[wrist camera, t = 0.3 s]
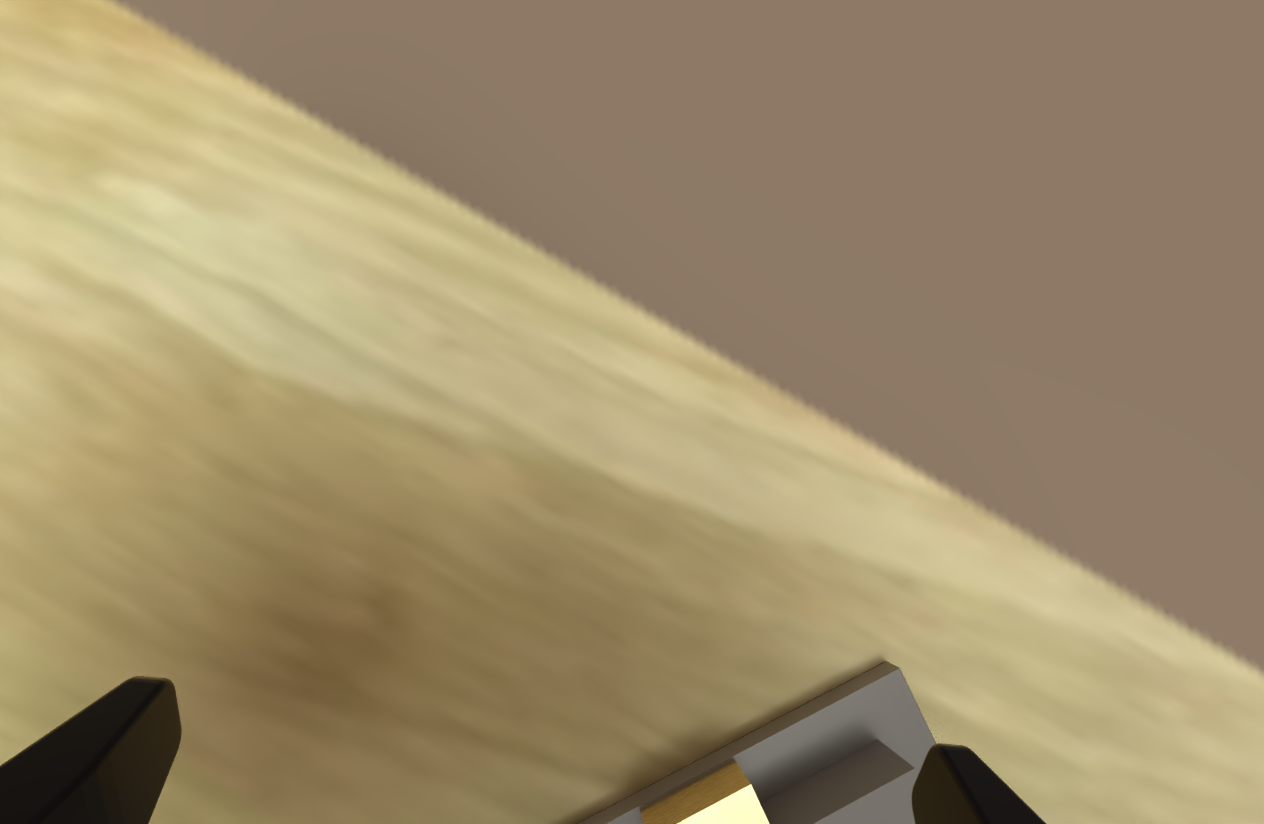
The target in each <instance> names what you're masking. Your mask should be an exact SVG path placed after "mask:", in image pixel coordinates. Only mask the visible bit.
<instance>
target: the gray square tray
mask: <svg viewBox="0 0 1264 824" xmlns="http://www.w3.org/2000/svg"><path fill="white" fill-rule="evenodd" d="M934 744H936V742H935V740H934V738H933V736H932V734H931V732H930V730H929V728H928V726H927V724H926V721H925V719H924V717H923V715H922V713H921V711H920V709H919V707H918V705H917V703H916V701H915V699H914V697H913V694H912V692H911V690H910V688H909V686H908V684H907V682H906V680H905V678H904V676H903V674H902V672H901V670H900V668H899V667H897V666H895V665H893V664H891V663H889V662H887V661H886V662H884V663H882V664H880V665H878V666H876V667H874V668H873V669H871V670H869V671H867V672H865V673H863V674H861V675H859V676H857V677H855V678H854V679H852V680H850V681H848V682H846V683H844V684H842V685H840V686H838V687H836V688H835V689H833V690H831V691H829V692H827V693H825V694H823V695H821V696H819V697H817V698H816V699H814V700H812V701H810V702H808V703H806V704H804V705H802V706H800V707H798V708H797V709H795V710H793V711H791V712H789V713H787V714H785V715H783V716H781V717H779V718H778V719H776V720H774V721H772V722H770V723H768V724H766V725H764V726H762V727H760V728H759V729H757V730H755V731H753V732H751V733H749V734H747V735H745V736H743V737H741V738H740V739H738V740H736V741H734V742H732V743H730V744H728V745H726V746H724V747H722V748H721V749H719V750H717V751H715V752H713V753H711V754H709V755H707V756H705V757H703V758H702V759H700V760H698V761H696V762H694V763H692V764H690V765H688V766H686V767H684V768H683V769H681V770H679V771H677V772H675V773H673V774H671V775H669V776H667V777H665V778H664V779H662V780H660V781H658V782H656V783H654V784H652V785H650V786H648V787H646V788H645V789H643V790H641V791H639V792H637V793H635V794H633V795H631V796H629V797H627V798H626V799H624V800H622V801H620V802H618V803H616V804H614V805H612V806H610V807H608V808H607V809H605V810H603V811H601V812H599V813H597V814H595V815H593V816H591V817H589V818H588V819H586V820H584V821H582V822H580V823H578V824H915V821H914V815H913V810H912V800H911V798H912V789H913V786H914V783H915V781H916V779H917V776H918V774H919V772H920V769H921V767H922V765H923V762H924V760H925V757H926V755H927V753H928V751H929V749H930V747H932V746H933V745H934Z"/></svg>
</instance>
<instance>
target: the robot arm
mask: <svg viewBox="0 0 1264 824" xmlns="http://www.w3.org/2000/svg"><path fill="white" fill-rule="evenodd" d="M180 740H181V722H180V716H179V710H178V703H177V697H176V691H175V687H174V684H173V683H172V681H171V680H169V679H166V678H156V677H144V676H136V677H132V678H130V679H128V680H126V681H124V682H123V683H121V684H120V685H119V686H117V687H116V688H114V689H113V690H111V691H110V692H108V693H107V694H105V695H104V696H102V697H101V698H99V699H98V700H96V701H95V702H93V703H92V704H91V705H89V706H88V707H86V708H85V709H83V710H82V711H80V712H79V713H77V714H76V715H74V716H73V717H71V718H70V719H68V720H67V721H65V722H64V723H63V724H61V725H60V726H58V727H57V728H55V729H54V730H52V731H51V732H49V733H48V734H46V735H45V736H43V737H42V738H40V739H39V740H37V741H36V742H35V743H33V744H32V745H30V746H29V747H27V748H26V749H24V750H23V751H21V752H20V753H18V754H17V755H15V756H14V757H12V758H11V759H9V760H8V761H7V762H5V763H4V764H2V765H1V766H0V824H148V823H149V821H150V818H151V816H152V813H153V811H154V808H155V806H156V803H157V801H158V798H159V796H160V793H161V791H162V788H163V786H164V783H165V781H166V779H167V776H168V774H169V771H170V769H171V766H172V764H173V761H174V759H175V756H176V754H177V751H178V748H179V744H180ZM911 800H912V810H913V815H914V821H915V824H1046V823H1045V822H1044V821H1043V820H1042V819H1041V818H1040V817H1039V816H1038V815H1037V814H1036V813H1035V812H1034V811H1033V810H1032V809H1031V808H1030V807H1029V806H1028V805H1027V804H1026V803H1025V802H1024V801H1023V800H1022V799H1021V798H1020V797H1019V796H1018V795H1017V794H1016V793H1015V792H1014V791H1013V790H1012V789H1011V788H1010V787H1009V786H1008V785H1007V784H1006V783H1005V782H1004V781H1003V780H1002V779H1000V778H999V777H998V776H997V775H996V774H995V773H994V772H993V771H992V770H991V769H990V768H989V767H988V766H987V765H986V764H985V763H984V762H983V761H982V760H981V759H980V758H979V757H978V756H977V755H976V754H975V753H974V752H973V751H972V750H971V749H969V748H968V747H965V746H962V745H952V744H940V743H938V744H934V745H933V746H932V747H930V749H929V751H928V753H927V755H926V757H925V760H924V762H923V765H922V767H921V769H920V772H919V774H918V776H917V779H916V781H915V783H914V786H913V789H912V798H911Z"/></svg>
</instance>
